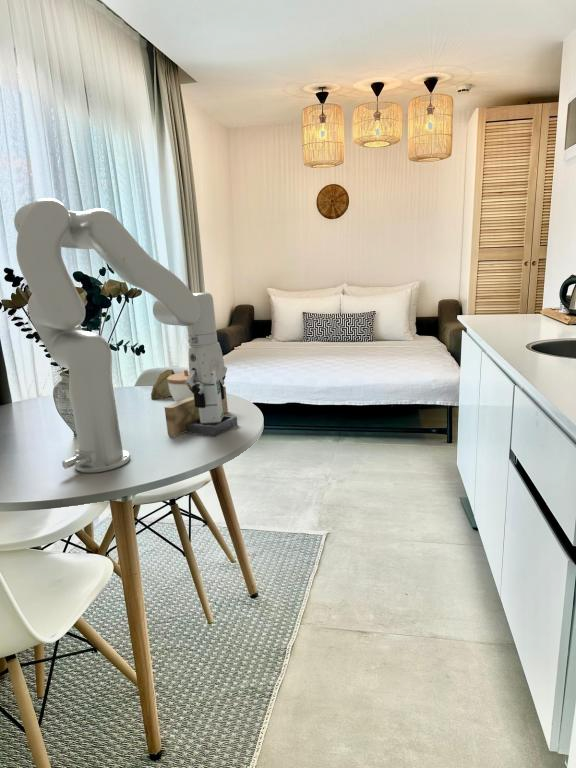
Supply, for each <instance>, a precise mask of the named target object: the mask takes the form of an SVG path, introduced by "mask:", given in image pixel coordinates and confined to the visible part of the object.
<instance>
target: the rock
mask: <svg viewBox="0 0 576 768" xmlns="http://www.w3.org/2000/svg"><path fill="white" fill-rule="evenodd" d="M173 374H176V373H175V372H174V369H166V370H164V371H163V372H162V373H160V374H159V375H158V377H157V380H156V381H155V383H154V384H153V386H152V389H151V394H150V399H151V400H153V399H155V398H156V399H162V398H161V397H164V398H168V397H167V396H171V394H170V391H169V387H168V382H167V377H169V376H171V375H173Z"/></svg>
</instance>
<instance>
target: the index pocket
mask: <svg viewBox="0 0 576 768" xmlns="http://www.w3.org/2000/svg"><path fill="white" fill-rule="evenodd" d="M214 424H215V425H210V423H201V422H200V417H199V418H197V419H195V420H193V421H191V422H188V423H186V430H187V431H186V433H188V432H190V434H195V433H196V435H202V434H203V436H209V435H210V436H211V437H217V435H218V436H220V435H222V434H223V433H225V432H227V431H229V430H230V429H231V430H232V429H233V428H235V427H237V426H238V417H237V416H234V415H226V414H224V416H223V418H222V420H221V422H217V423H214ZM210 436H209V437H210Z"/></svg>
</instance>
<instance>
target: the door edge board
mask: <svg viewBox="0 0 576 768" xmlns="http://www.w3.org/2000/svg"><path fill="white" fill-rule="evenodd" d="M223 388H224V397H225V398H224V399H223V400H222V405H223V413H224V414H226V413H228V412H229V409H228V398H227V388H226V385H223ZM164 413H165V421H166V423H165V424H166V431H167V436H168V435H169V436H168V437H174V436H175V437H178V436H179V435H182V434H183V432H184V433H185V431H186V432H187V430H186V423H188V422H191V421H193V420H195V419H197V418H199V417H200V415H199V408H198V407H195V401H194V396H192V397H190V398H187V399H185V400H182V401H180V402H177V401H176V402H175V403H172V404H170V405H167V406H164Z"/></svg>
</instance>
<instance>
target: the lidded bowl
mask: <svg viewBox="0 0 576 768" xmlns="http://www.w3.org/2000/svg"><path fill="white" fill-rule="evenodd" d="M189 375H190V373H189V369H184V370H183V372H179V373H175V374H173V375H171V376H169V377H167V382H168V387H169V391H170V394H171V396H172V397H171V398H172V399H173V400H174V401H175V402H176V403H177V402H180V401H182V400H185V399H187V398H190V397H192V396H194V393H192V391H191V390H190V389H189V387H188V386H187V385H186V383H185V382H186V380H187V378H188V376H189Z"/></svg>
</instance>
